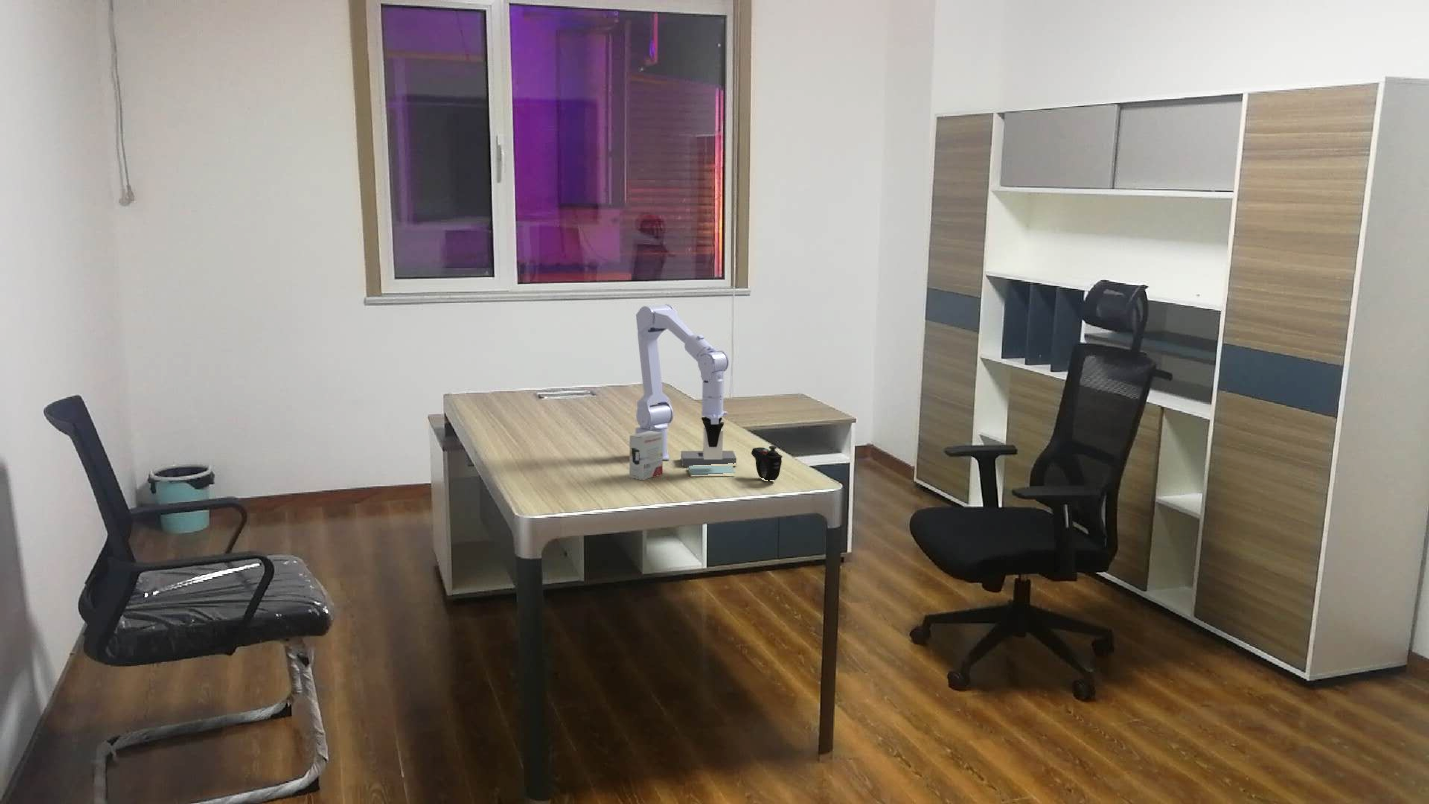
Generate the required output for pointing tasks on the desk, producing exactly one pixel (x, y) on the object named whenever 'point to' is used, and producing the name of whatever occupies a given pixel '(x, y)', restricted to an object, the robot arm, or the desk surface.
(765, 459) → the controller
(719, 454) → the plug
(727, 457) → the grey board with hole
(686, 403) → the desk surface
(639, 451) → the ink box
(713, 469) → the mat
